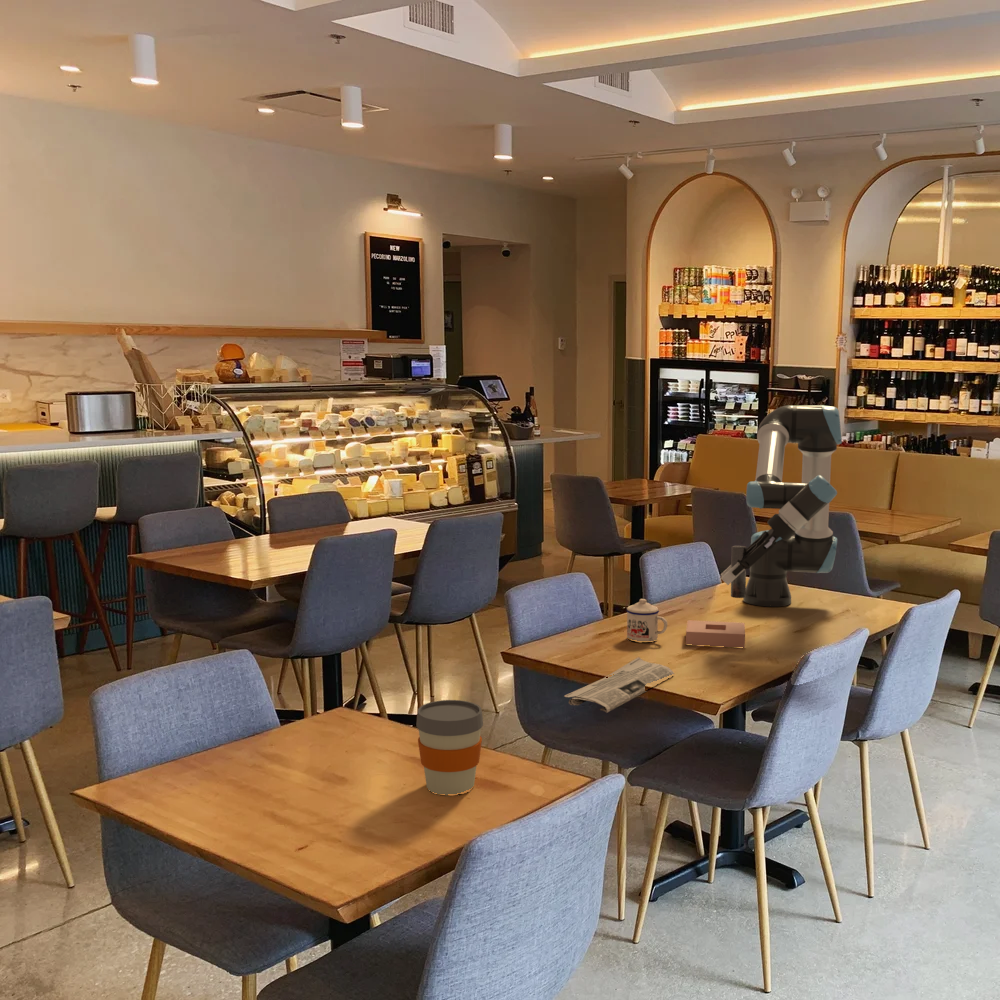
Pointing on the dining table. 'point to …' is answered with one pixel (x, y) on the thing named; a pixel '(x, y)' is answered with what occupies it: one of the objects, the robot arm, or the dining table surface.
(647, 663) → the newspaper
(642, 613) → the teacup with lid
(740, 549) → the pin
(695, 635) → the pink block with hole
